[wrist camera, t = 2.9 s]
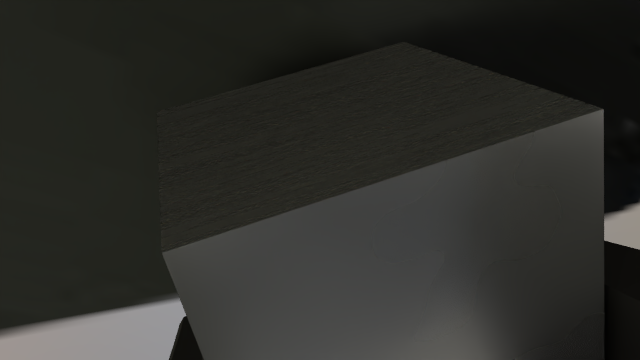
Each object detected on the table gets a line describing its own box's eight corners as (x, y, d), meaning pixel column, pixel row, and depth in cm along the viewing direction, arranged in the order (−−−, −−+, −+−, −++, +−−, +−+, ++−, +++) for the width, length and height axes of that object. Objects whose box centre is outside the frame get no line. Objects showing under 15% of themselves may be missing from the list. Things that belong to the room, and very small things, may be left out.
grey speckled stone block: (403, 41, 10) (603, 109, 6) (453, 372, 13) (605, 580, 9) (156, 111, 9) (162, 253, 5) (274, 443, 13) (341, 708, 8)
